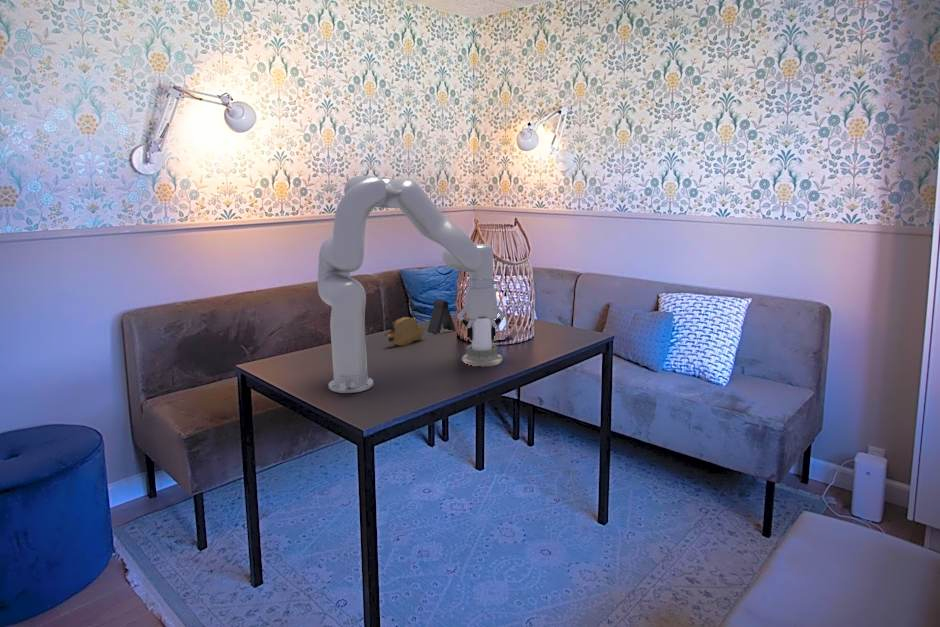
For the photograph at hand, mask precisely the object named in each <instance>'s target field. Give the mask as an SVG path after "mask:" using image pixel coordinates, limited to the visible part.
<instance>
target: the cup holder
mask: <svg viewBox="0 0 940 627" xmlns="http://www.w3.org/2000/svg"><path fill="white" fill-rule="evenodd" d="M498 348H499V347H498V346H497V345H496V344H493V343H492V349H491V350H482V351H479V350H473V349H472V343H470V344H468V345H467V346H466V353H465V354H464V355H462V357H461V362H462V361H463V362H464V363H465V365H466V364H468V365H467V366H470V365H472V366H471V367H477V366H481V367H482V368H484V367H485V366H486V367H493V366H496V365H500V364H502V363H503V356H502V355H501V354H498V352H499V350H498ZM463 362H462V363H463ZM464 363H463V364H464Z"/></svg>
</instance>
